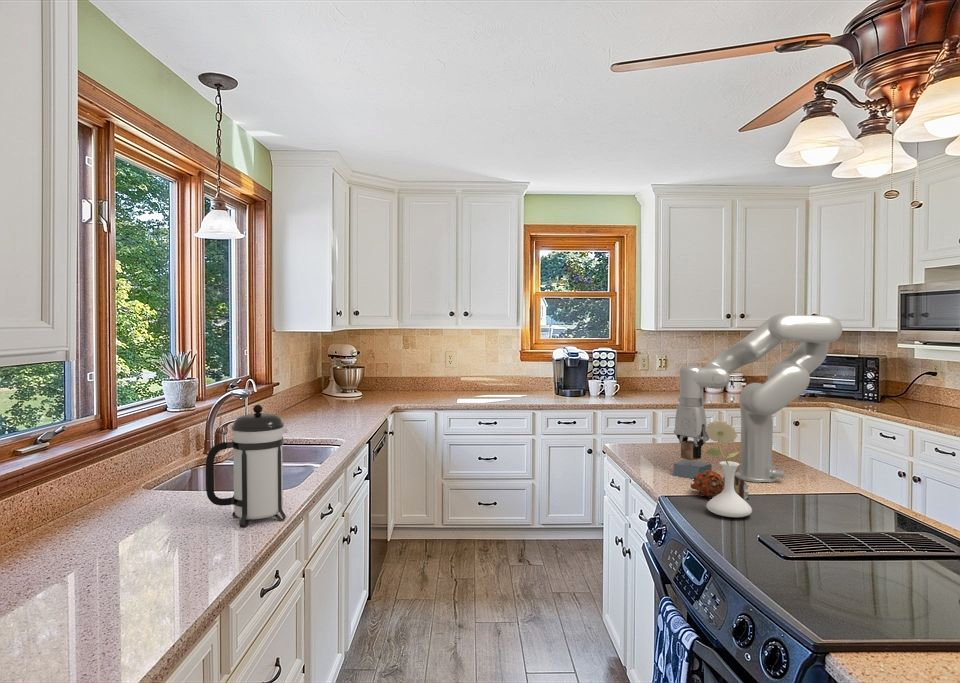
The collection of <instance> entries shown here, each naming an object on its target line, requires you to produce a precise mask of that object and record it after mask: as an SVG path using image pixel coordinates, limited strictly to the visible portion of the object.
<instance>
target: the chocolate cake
mask: <svg viewBox="0 0 960 683" xmlns="http://www.w3.org/2000/svg"><path fill="white" fill-rule="evenodd" d="M722 478H723V480H724V482H725V477H724V476H722ZM749 488H750V485H749V484H747V481H746V480H742V479H739V478H737V477H734V490H735V492H736V493H737V494H738V495H739V496H740V497H741V498H742V499H743V500H745V499H746V498H749V497H748V495H749V491H748V489H749ZM746 500H747V499H746ZM746 500H745V501H746Z"/></svg>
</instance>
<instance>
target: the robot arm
mask: <svg viewBox="0 0 960 683" xmlns="http://www.w3.org/2000/svg"><path fill="white" fill-rule="evenodd" d="M842 334H843V326H842V323H841V321H840V320H838V318H836V317H834V316H831V315H818V314H817V315H814V314H813V315H812V314H811V315H809V314H796V313H795V314H793V313H779V314H774V315H773V316H771V317H770V318H767V320H765V321H764V322H763V323H762V324H760V325H759V326H758V327H756V328H755V329H753V331H751V332H750V333H749V334H747V335H746V336H744V338H742V339H741V340H739V341H738V342H735V344H733V345H731V346H730V347H729V348H727V349H726V350H724V351H722V352H721V353H720V354H718V355H717V356H715V357H714V358H713V359H711V360H710V361H709V362H708V363H707V364H705V365H704V366H703V367H702V366H699V365H683V366H681V367H680V368H679V397H678V399H677V401H678V402H679V405H677V407H676V412H675V420H674V430H673V433H674V435H675V436H676V438H677V439H678V441H679V444H681V442H682V441H689V438H690V439H691V438H692V439H693V441H694V444H695V446H693V458H695V459H696V458H701V459H702V447H703V446H704V444H705V443H706V442H708V441H709V440H711V439H710V438H709V436H708V435H707V433H706V431H705V429H707V428H706V427H707V426H708V425H707V416H706V409H705V407H704V388H706V389H707V388H709V389H715V390H720V389H723V388H725V387H726V386H728V384H730V381H731V374H733V372H735V371H737V370H738V369H740V368H743V366H747V365H750V364H753V363H756V362H758V361H760V360H761V359H763V358H764V357H765V356H767V354H769V353H770V352H771V351H772V350H774V349H775V348H777V347H778V346H779V345H780V344H782V343H783V342H785V341H789V342H800V344H799V345H798V347H797V348H796V349H795V350H793V351H792V352H791V353H789V355H788V356H786V357H785V358H783V359H782V360H781V361H779V362H778V363H777V364H776V365H774V366H773V367H771V369H770V370H769V371H768V373H767V374H768V375H767V380H766V381H765V382H764V383H760V382H750V383H748V384H747V385H745V386H744V387H742V389H741V392H740V394H739V410H740V470H738V471H737V470H736V471H735V475H734V477H735V478H738V479H741V480H744V481H746V482H750V483H751V482H752V483H761V482H769V483H775V482H777V480H778V478H782V479H785V478H786V472H785V471H784V470H777V469H776V465H775V464H774V465H773V433H774V431H773V429H774V428H773V427H774V425H773V424H774V423H773V421H774V420H773V415H775V414H777V413H778V412H779V411H781V410H782V409H784V408H785V407H787V405H789V404H791V403H792V402H793V401H794V400H796V399H797V398H798V397H800V395H802V394H803V393H805V391H806V390H807V389H808V387H809V384H810V382H811V377H810V375H811V374H812V372H814V371H815V370H816V369H817V368H819V367H820V366H821V365H822V364H823V363H824V361H825V360H826V357H827V355H828V353H829V352H828V351H829V346H830V344H829V343H833V342H835V341H837V340H839V338H840V337H841V336H842Z"/></svg>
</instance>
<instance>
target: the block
mask: <svg viewBox="0 0 960 683" xmlns="http://www.w3.org/2000/svg"><path fill="white" fill-rule="evenodd" d="M693 446H695V444H694V440H688V441H682V442H681V443H680V458H681V459H683V460H686V459H687V460H694V461H698V460H701V459H702V457H701V458H696V459H695V458H693Z"/></svg>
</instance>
